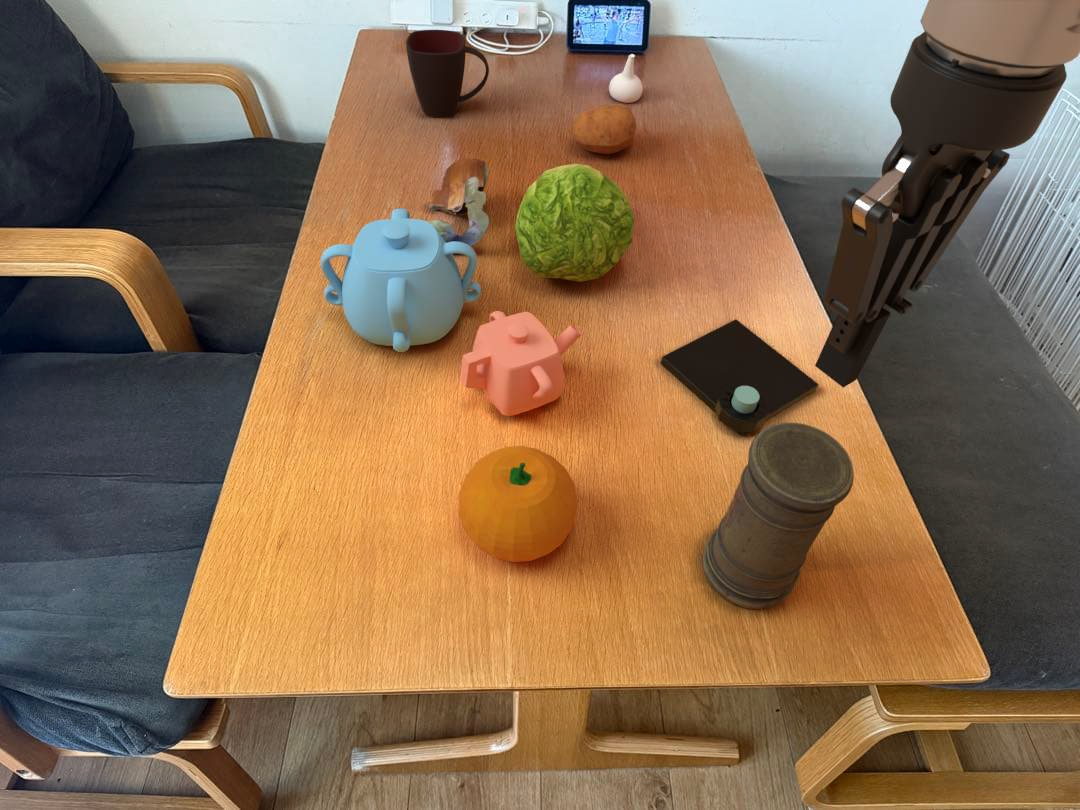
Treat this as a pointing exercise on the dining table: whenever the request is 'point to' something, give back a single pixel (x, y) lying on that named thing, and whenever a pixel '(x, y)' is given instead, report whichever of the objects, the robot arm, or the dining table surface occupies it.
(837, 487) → the container
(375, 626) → the dining table surface
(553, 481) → the fruit
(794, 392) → the scale
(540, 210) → the lettuce
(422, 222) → the decorative pot
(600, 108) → the potato
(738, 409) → the button
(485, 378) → the teapot
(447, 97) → the mug
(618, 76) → the garlic bulb
